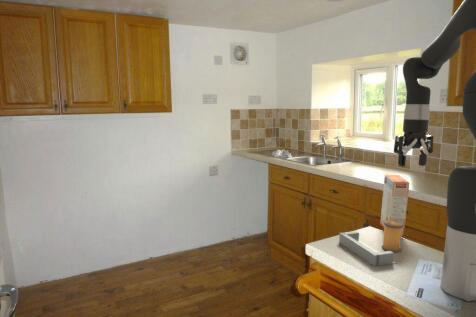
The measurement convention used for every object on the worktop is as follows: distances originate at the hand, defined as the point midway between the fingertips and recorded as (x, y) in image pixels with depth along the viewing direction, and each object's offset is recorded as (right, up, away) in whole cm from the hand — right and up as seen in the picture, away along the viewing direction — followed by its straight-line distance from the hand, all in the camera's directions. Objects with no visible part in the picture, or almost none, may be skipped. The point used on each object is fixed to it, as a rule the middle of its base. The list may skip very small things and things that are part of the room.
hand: (412, 165), depth 117 cm
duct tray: (-17, -28, -4) cm, 34 cm away
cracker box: (+1, -26, +17) cm, 31 cm away
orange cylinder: (-8, -28, -1) cm, 29 cm away
